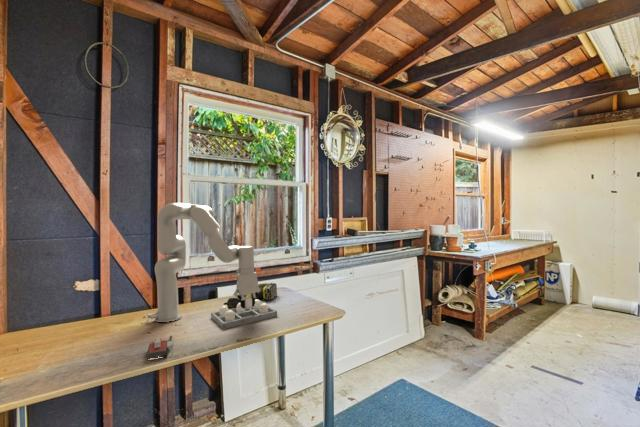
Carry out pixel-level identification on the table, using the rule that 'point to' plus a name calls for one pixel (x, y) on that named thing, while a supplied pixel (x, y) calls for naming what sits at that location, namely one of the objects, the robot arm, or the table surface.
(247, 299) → the egg
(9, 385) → the table surface
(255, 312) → the egg crate
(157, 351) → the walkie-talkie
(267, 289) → the reciprocating saw
